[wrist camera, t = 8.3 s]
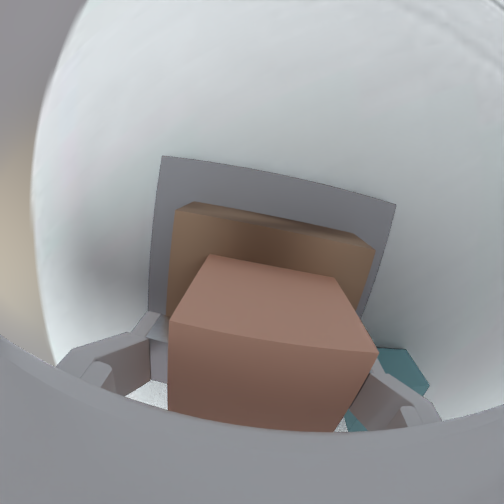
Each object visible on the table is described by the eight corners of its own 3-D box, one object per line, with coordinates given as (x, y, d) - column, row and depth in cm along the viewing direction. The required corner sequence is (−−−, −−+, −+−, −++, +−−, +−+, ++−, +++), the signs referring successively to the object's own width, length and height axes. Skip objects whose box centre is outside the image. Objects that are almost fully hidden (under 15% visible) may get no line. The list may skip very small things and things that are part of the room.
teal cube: (405, 349, 16) (429, 385, 12) (383, 390, 17) (399, 427, 13) (357, 346, 16) (376, 388, 12) (336, 390, 17) (348, 431, 13)
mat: (391, 203, 13) (396, 204, 13) (328, 380, 17) (330, 386, 16) (166, 156, 13) (162, 155, 12) (151, 349, 16) (148, 355, 16)
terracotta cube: (334, 277, 11) (379, 352, 6) (301, 372, 12) (314, 458, 7) (209, 253, 11) (169, 320, 6) (196, 354, 12) (168, 439, 7)
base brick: (353, 233, 13) (376, 250, 10) (311, 361, 15) (318, 395, 13) (194, 201, 13) (175, 210, 10) (179, 338, 15) (164, 370, 12)
